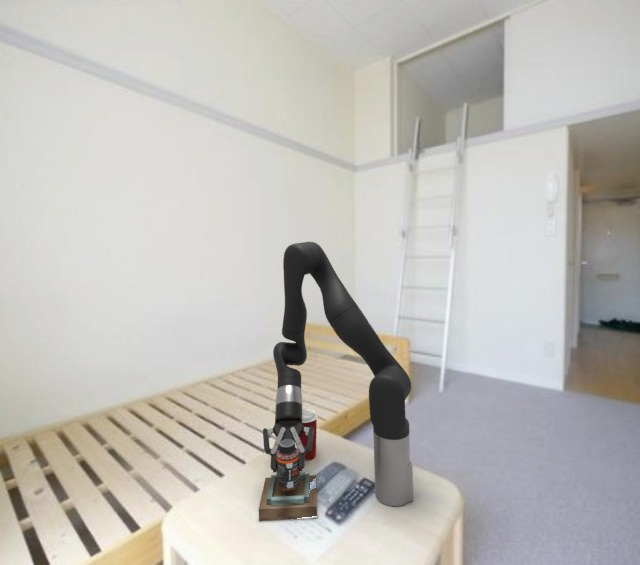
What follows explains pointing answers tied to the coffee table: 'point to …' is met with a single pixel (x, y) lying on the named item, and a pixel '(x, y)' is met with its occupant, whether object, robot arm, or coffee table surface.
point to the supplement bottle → (287, 465)
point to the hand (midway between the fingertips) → (287, 470)
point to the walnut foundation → (287, 500)
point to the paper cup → (307, 420)
